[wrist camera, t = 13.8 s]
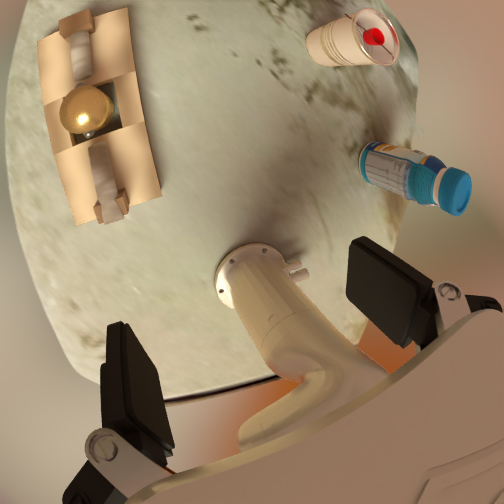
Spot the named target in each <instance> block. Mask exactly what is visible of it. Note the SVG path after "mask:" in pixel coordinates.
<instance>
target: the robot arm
mask: <svg viewBox="0 0 504 504" xmlns="http://www.w3.org/2000/svg"><path fill="white" fill-rule="evenodd" d="M301 267H302V263H301V261H300V260H296V261H293V262H292V263H289V264H287V263H285V261H284V259H283V257H282V255H281V254H280V253H279V252H278V251H277V250H276V249H275V248H273V247H271V246H269V245H266V244H262V243H253V244H247V245H244V246H241V247H239V248H237V249H235V250H234V251H232V252H231V253H230V254H228V255H227V256H226V257H225V259H224V260H223V261H222V262H221V264H220V265H219V267H218V269H217V271H216V274H215V279H214V286H215V291H216V293H217V296H218V297H219V299H220V300H221V302H222V303H223V304H225V305H226V306H228V307H229V308H232V309H235V310H236V311H237V313H238V315H239V317H240V319H241V320H242V322H243V324H244V326H245V328H246V329H247V331H248V333H249V335H250V337H251V338H252V340H253V342H254V344H255V345H256V347H257V349H258V351H259V353H260V354H261V356H262V358H263V359H264V361H265V363H266V364H267V366H268V367H269V368H270V369H271V370H272V371H273V372H274V373H275V374H277V375H278V376H280V377H282V378H285V379H287V380H291V381H295V382H299V383H301V384H300V385H299V386H297V387H296V388H295V389H294V390H292V391H291V392H290V393H288V394H287V395H285V396H284V397H282V398H281V399H279V400H278V401H276V402H274V403H273V404H271V405H270V406H268V407H266V408H265V409H263V410H262V411H260V412H258V413H257V414H255V415H254V416H252V417H251V418H249V419H248V420H247V421H245V422H244V423H243V424H242V426H241V427H240V429H239V431H238V433H237V445H238V448H239V451H240V453H239V454H236V455H234V456H231V457H228V458H225V459H222V460H219V461H216V462H213V463H209V464H206V465H203V466H199V467H196V468H193V469H190V470H187V471H183V472H180V473H176V472H174V471H173V470H171V469H170V468H168V467H167V466H166V465H167V464H168V463H167V460H166V457H170V456H173V453H172V450H171V449H173V448H175V444H174V440H173V437H172V433H171V429H170V425H169V421H168V417H167V413H166V409H165V404H164V400H163V395H162V390H161V386H160V381H159V375H158V372H157V369H156V367H155V365H154V364H153V362H152V361H151V359H150V358H149V356H148V355H147V353H146V352H145V350H144V349H143V347H142V345H141V344H140V342H139V341H138V339H137V337H136V336H135V334H134V332H133V331H132V329H131V327H130V326H129V324H128V323H126V324H124V323H123V322H122V321H119V322H116V323H113V324H110V325H108V326H107V338H106V363H103V364H102V365H101V368H100V389H101V390H100V393H101V415H102V416H101V417H102V428H99V429H97V430H94V431H93V432H92V433H91V434H90V435H89V436H88V438H87V440H86V443H85V453H86V457H87V458H88V460H87V462H86V463H85V465H84V466H83V467H82V468H81V470H80V471H79V472H78V474H77V475H76V476H75V478H74V479H73V480H72V482H71V483H70V485H69V486H68V487H67V489H66V490H65V492H64V494H63V498H62V501H63V504H504V307H501V305H500V304H499V303H498V302H497V300H496V299H494V298H491V297H485V296H474V295H464V292H463V290H462V289H461V288H460V287H459V286H458V285H457V284H455V283H453V282H450V281H440V282H438V283H437V284H436V285H435V288H432V284H433V281H432V280H431V279H429V278H428V277H426V276H425V275H423V274H422V273H421V272H419V271H417V270H416V269H415V268H413V267H411V266H410V265H409V264H407V263H406V262H404V261H403V260H401V259H400V258H398V257H397V256H395V255H394V254H392V253H391V252H389V251H388V250H386V249H385V248H383V247H382V246H380V245H378V244H377V243H375V242H374V241H372V240H370V239H369V238H367V237H365V236H362V237H359V238H357V239H354V240H352V242H351V245H350V246H349V257H348V271H347V283H346V296H347V298H348V300H349V301H350V302H352V303H353V304H354V305H355V306H356V307H357V308H358V309H359V310H360V311H361V312H362V313H363V314H364V315H365V316H366V317H368V318H369V319H370V320H371V321H372V322H373V323H374V324H375V325H376V326H377V327H378V328H379V329H380V330H381V331H382V332H383V333H384V334H385V335H386V336H388V338H390V339H391V340H392V341H393V342H394V343H395V344H397V345H400V346H401V347H402V348H405V347H406V346H408V345H409V344H410V343H411V342H412V340H413V341H414V342H415V345H416V356H415V357H413V358H412V359H411V360H409V361H408V362H407V363H405V364H404V365H403V366H401V367H400V368H399V369H397V370H396V371H395V372H393V373H392V374H389V373H388V372H387V371H386V370H385V369H384V368H383V367H382V366H381V365H379V364H378V363H377V362H375V361H374V360H373V359H371V358H370V357H369V356H367V355H366V354H365V353H363V352H362V351H361V350H360V349H358V348H357V347H356V346H355V345H353V344H352V343H351V342H350V341H349V340H348V339H347V338H346V337H345V336H344V335H342V334H341V333H340V332H339V331H338V330H337V329H336V327H335V326H334V325H333V324H332V323H331V322H330V321H329V320H328V319H327V318H326V317H325V316H324V315H323V314H322V312H321V311H320V310H319V309H318V308H317V307H316V306H315V305H314V304H313V303H312V302H311V300H310V299H309V298H308V297H307V296H306V295H305V294H304V293H303V292H302V291H301V290H300V288H299V287H298V286H297V285H296V284H295V283H296V282H300V281H303V280H305V279H308V278H309V272H308V270H307V269H306V268H303V269H301V270H298V271H296V272H294V273H292V274H290V271H292V270H295V269H298V268H301Z"/></svg>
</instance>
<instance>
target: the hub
mask: <svg viewBox="0 0 504 504" xmlns="http://www.w3.org/2000/svg"><path fill="white" fill-rule="evenodd" d="M113 114H114V105H113V102H112V100H111V99H110V98H109V97H108V96H107V95H105V94H104V93H103V92H102V91H100V90H99V89H98V88H96V87H94V86H90V85H85V83H83V82H79V83H78V84H77V85H76V86H75V89H73V90H72V91H70V92H69V93H68V94H67V95H66V97H65V98H64V100H63V101H62V104H61V106H60V112H59V116H60V121H61V124H62V125H63V127H64V128H65V129H66V130H67V131H69V132H71V133H76V134H80V133H83V134H84V136H85V137H86V138H91V137H92V136H93V135H94V131H99V130H101V129H103V128H104V127H106V126H107V125H108V124H109V123H110V121H111V119H112V117H113Z"/></svg>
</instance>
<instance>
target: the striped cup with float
mask: <svg viewBox="0 0 504 504" xmlns="http://www.w3.org/2000/svg"><path fill="white" fill-rule="evenodd" d="M345 15H346V17H342V18H340V19H337V20H334V21H332V22H330V23H328V24H326V25H324V26H321V27H319V28H317V29H315V30H313V31H311V32H310V33H309V34H308V36H307V38H306V48H307V51H308V53H309V55H310V56H311V58H312V59H313V60H314V61H315V62H317V63H318V64H320V65H322V66H326V67H332V66H352V65H369V64H380V65H383V66H389V65H392V64H393V63H395V62H396V60H397V58H398V56H399V50H400V46H399V40H398V36H397V33H396V31H395V29H394V27H393V26H392V24H391V23H390V21H389V20H388V19H387V18H386V17H385V16H384V15H383V14H381V13H380V12H378V11H376V10H374V9H371V8H364V9H361V10H360V11H358V12H357V13H354V14H351V15H349V16H348V15H347V14H345Z"/></svg>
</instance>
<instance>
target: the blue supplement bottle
mask: <svg viewBox="0 0 504 504" xmlns="http://www.w3.org/2000/svg"><path fill="white" fill-rule="evenodd" d="M359 171H360V174H361V176H362V177H363V179H364V180H365V181H367V182H368V183H371V184H374V185H377V186H379V187H382V188H384V189H387V190H389V191H391V192H394V193H396V194H398V195H400V196H403V197H404V198H405V199H407V200H410V201H417V202H418V203H419V204H420V205H423V206H435V205H438V206H439V207H440V208H441V209H442V210H444V211H446V212H448V213H450V214H452V215H455V216H460V215H461V214H462V213H463V212H464V211H465V209H466V207H467V204H468V202H469V199H470V195H471V188H472V184H471V178H470V176H469V174H468V173H466V172H464V171H462V170H459V169H456V168H453V167H448V168H447V167H446V166H445V165H444V164H443V162H442V161H440V160H439V159H438V158H436V157H435V156H432V155H428V156H427V155H426V154H425V153H423V152H420V151H417V150H410V149H406V148H402V147H398V146H393V145H389V144H385V143H382V142H377V141H373V142H370V143H368V144H367V145H366V146H365V147H364V148H363V150H362V152H361V154H360V158H359Z"/></svg>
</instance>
